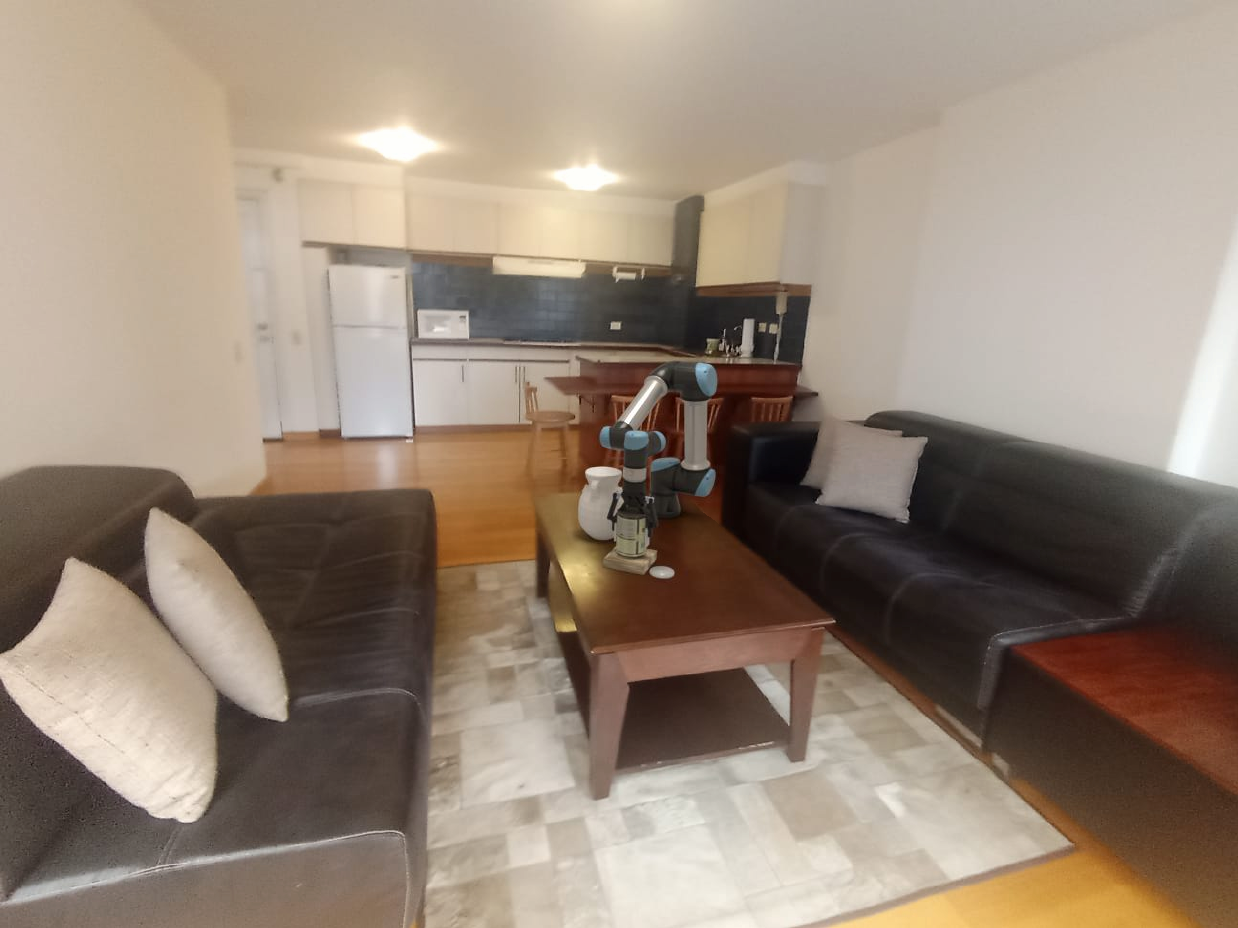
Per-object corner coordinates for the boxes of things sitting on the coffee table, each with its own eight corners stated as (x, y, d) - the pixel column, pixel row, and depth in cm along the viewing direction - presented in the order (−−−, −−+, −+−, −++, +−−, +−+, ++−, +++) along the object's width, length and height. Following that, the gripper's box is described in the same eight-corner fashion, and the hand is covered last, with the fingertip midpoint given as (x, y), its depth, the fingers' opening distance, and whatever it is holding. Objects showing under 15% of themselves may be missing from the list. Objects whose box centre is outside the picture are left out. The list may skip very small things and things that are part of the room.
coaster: (653, 565, 192) (654, 564, 192) (677, 570, 190) (677, 568, 189) (646, 575, 185) (646, 573, 185) (670, 580, 182) (670, 578, 182)
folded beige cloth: (618, 551, 203) (618, 542, 202) (656, 558, 198) (657, 549, 197) (603, 566, 190) (603, 557, 189) (643, 575, 185) (643, 565, 185)
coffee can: (619, 542, 199) (620, 504, 195) (648, 546, 197) (650, 507, 193) (612, 554, 189) (614, 514, 185) (643, 558, 187) (645, 517, 183)
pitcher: (592, 523, 228) (593, 462, 222) (634, 532, 221) (637, 469, 214) (567, 538, 212) (568, 473, 206) (612, 549, 204) (615, 481, 198)
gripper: (597, 477, 187) (595, 540, 193) (664, 487, 179) (660, 553, 185) (606, 471, 194) (604, 533, 199) (671, 480, 186) (667, 544, 192)
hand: (631, 542), depth 192 cm, fingers closed on coffee can, 10 cm apart
